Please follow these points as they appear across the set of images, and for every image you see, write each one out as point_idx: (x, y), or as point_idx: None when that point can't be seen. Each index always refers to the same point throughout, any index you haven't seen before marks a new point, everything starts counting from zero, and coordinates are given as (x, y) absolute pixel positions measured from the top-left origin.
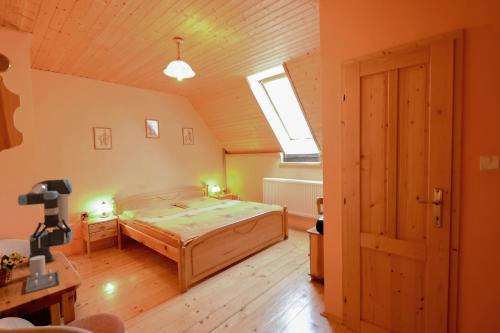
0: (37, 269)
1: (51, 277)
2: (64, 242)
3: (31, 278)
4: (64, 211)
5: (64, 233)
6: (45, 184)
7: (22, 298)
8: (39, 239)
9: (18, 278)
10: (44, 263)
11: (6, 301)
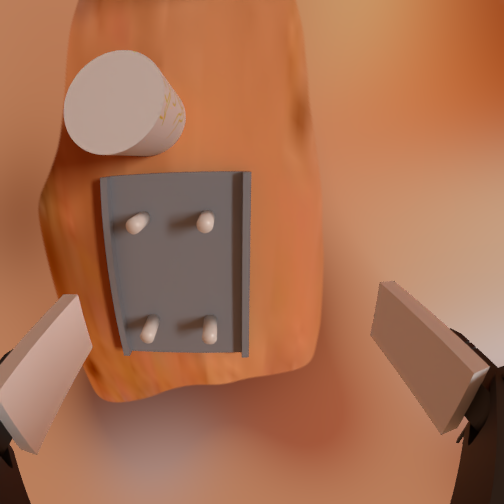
0: (135, 155)
1: (216, 339)
2: (374, 321)
3: (120, 185)
4: None
5: (456, 414)
6: None
7: (128, 374)
8: (40, 434)
9: None
10: (170, 123)
11: None
